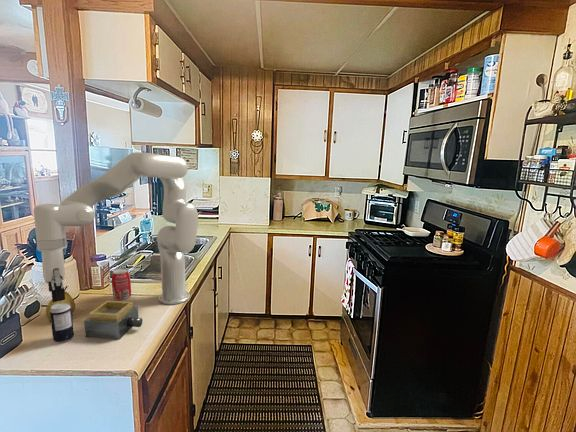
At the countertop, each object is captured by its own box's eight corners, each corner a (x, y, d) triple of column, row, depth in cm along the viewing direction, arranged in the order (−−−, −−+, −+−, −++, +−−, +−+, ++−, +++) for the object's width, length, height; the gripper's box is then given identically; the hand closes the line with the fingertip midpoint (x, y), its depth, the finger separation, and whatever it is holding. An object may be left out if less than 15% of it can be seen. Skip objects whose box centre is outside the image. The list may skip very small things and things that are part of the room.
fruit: (42, 325, 115) (38, 293, 113) (55, 313, 124) (51, 283, 122) (69, 323, 117) (66, 292, 115) (80, 311, 126) (77, 282, 124)
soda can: (121, 293, 143) (118, 267, 140) (135, 295, 141) (133, 269, 139) (109, 300, 136) (106, 273, 133) (124, 302, 134) (121, 274, 132)
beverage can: (78, 334, 110) (74, 301, 108) (67, 344, 104) (63, 309, 102) (60, 334, 110) (56, 301, 108) (49, 344, 104) (44, 309, 102)
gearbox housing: (107, 319, 120) (105, 299, 119) (149, 321, 119) (147, 301, 118) (85, 337, 109) (83, 315, 107) (131, 340, 108) (129, 317, 106)
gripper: (34, 239, 105) (39, 289, 108) (39, 252, 92) (44, 308, 95) (62, 236, 110) (66, 284, 113) (70, 248, 97) (75, 301, 100)
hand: (56, 295), depth 104 cm, fingers open, 9 cm apart
